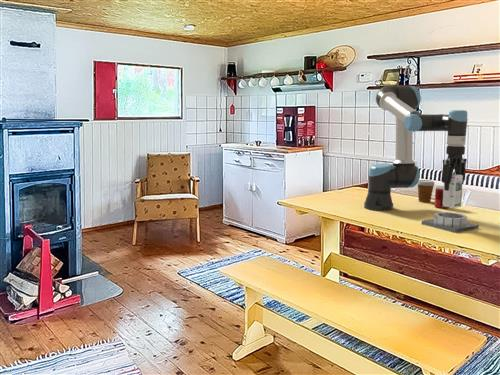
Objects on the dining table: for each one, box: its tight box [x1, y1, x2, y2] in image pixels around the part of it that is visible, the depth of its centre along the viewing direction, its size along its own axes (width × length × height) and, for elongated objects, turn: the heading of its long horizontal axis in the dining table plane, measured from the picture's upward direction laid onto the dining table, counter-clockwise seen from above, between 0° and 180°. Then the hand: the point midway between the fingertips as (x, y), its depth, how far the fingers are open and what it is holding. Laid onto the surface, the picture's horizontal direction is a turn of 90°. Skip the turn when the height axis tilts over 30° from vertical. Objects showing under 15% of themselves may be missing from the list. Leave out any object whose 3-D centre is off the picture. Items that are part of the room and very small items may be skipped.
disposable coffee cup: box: [416, 179, 435, 204], centre depth 272 cm, size 10×10×12 cm
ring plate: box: [421, 211, 480, 233], centre depth 216 cm, size 18×16×5 cm
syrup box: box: [443, 173, 464, 209], centre depth 213 cm, size 6×6×14 cm
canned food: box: [434, 185, 450, 210], centre depth 256 cm, size 8×8×11 cm
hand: (452, 196), depth 214 cm, fingers closed on syrup box, 6 cm apart
